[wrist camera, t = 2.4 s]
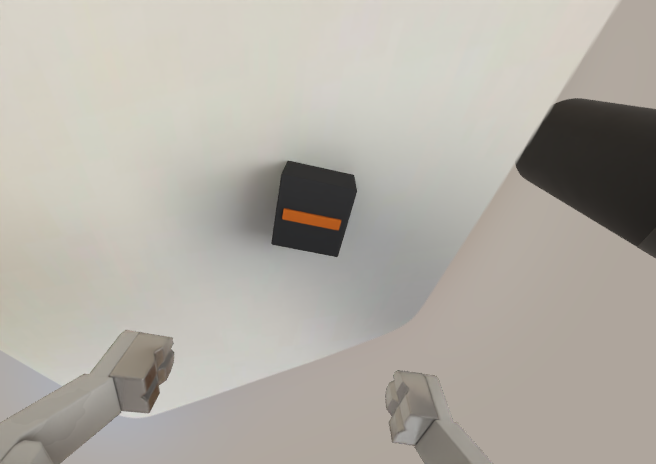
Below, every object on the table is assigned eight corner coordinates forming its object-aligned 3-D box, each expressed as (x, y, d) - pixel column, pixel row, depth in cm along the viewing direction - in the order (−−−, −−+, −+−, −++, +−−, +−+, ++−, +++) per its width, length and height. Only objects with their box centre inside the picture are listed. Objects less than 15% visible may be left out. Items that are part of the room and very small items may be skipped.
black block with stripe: (354, 174, 22) (357, 191, 19) (337, 236, 24) (337, 258, 22) (287, 160, 21) (281, 174, 18) (277, 225, 24) (270, 245, 21)
